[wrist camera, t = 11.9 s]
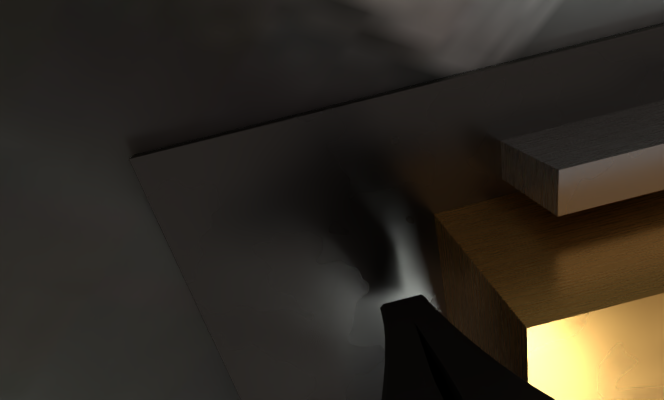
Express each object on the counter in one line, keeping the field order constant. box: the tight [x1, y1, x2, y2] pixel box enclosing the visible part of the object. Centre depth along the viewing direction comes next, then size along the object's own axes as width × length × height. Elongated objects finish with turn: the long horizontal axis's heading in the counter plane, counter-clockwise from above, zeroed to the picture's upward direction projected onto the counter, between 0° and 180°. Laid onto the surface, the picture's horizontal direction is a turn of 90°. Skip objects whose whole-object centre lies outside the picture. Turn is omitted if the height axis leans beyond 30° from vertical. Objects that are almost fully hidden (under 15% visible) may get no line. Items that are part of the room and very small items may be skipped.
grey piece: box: [129, 23, 664, 400], centre depth 11 cm, size 13×20×6 cm, turn 102°
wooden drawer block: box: [434, 190, 664, 400], centre depth 10 cm, size 8×5×5 cm, turn 103°
